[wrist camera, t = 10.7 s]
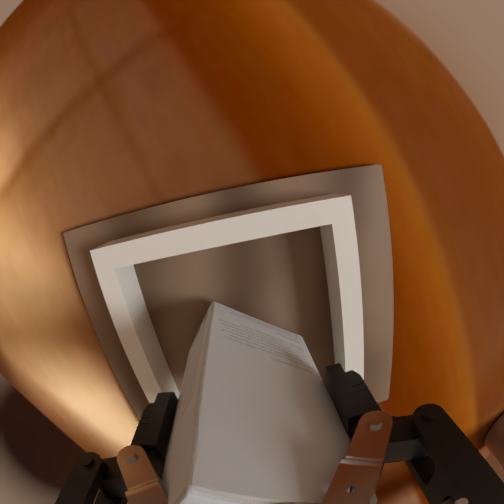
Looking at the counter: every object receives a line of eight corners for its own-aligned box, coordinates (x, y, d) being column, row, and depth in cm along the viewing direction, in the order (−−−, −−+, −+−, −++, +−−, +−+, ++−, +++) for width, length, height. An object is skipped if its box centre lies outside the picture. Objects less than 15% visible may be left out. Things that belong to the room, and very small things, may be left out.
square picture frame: (334, 193, 16) (351, 195, 13) (351, 400, 19) (362, 421, 17) (108, 241, 16) (89, 250, 13) (182, 430, 19) (178, 452, 17)
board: (375, 164, 16) (381, 164, 15) (384, 393, 20) (388, 399, 19) (69, 230, 16) (62, 233, 15) (153, 434, 20) (152, 440, 20)
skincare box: (187, 353, 17) (141, 531, 5) (214, 293, 16) (173, 487, 4) (275, 384, 18) (305, 552, 6) (309, 331, 17) (384, 505, 5)
